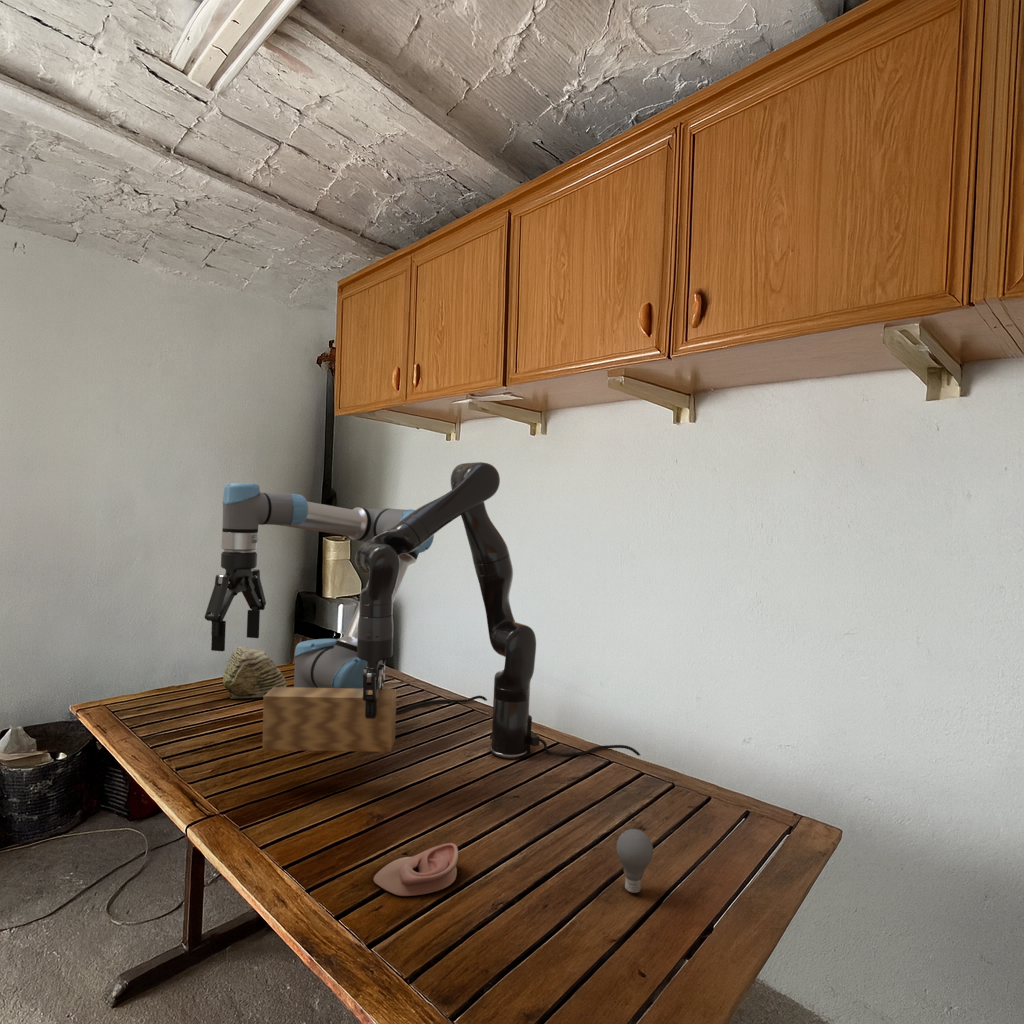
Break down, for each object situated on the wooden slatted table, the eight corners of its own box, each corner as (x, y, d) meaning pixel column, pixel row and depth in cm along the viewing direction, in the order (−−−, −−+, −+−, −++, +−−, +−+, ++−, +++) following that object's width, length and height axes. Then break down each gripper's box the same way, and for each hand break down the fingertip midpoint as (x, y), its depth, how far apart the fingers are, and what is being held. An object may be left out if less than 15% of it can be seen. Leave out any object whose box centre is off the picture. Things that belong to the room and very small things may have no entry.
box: (262, 750, 133) (263, 696, 132) (272, 738, 139) (273, 686, 139) (390, 751, 134) (392, 698, 134) (395, 740, 140) (396, 689, 140)
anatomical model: (366, 866, 102) (393, 830, 114) (365, 890, 103) (392, 852, 114) (444, 879, 100) (464, 841, 111) (443, 904, 100) (463, 864, 111)
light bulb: (610, 879, 108) (613, 822, 108) (644, 879, 109) (647, 822, 109) (619, 902, 102) (622, 840, 102) (655, 901, 103) (658, 840, 103)
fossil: (218, 695, 195) (220, 647, 195) (278, 685, 208) (279, 640, 207) (228, 703, 189) (230, 653, 188) (289, 692, 201) (290, 645, 201)
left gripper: (221, 556, 131) (217, 658, 131) (282, 548, 156) (279, 633, 156) (188, 554, 132) (185, 655, 133) (254, 546, 157) (251, 631, 157)
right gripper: (388, 643, 129) (386, 724, 130) (397, 628, 144) (395, 701, 144) (350, 643, 129) (349, 724, 129) (364, 628, 143) (362, 701, 144)
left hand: (236, 644), depth 144 cm, fingers open, 13 cm apart
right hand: (373, 712), depth 137 cm, fingers closed on box, 6 cm apart
